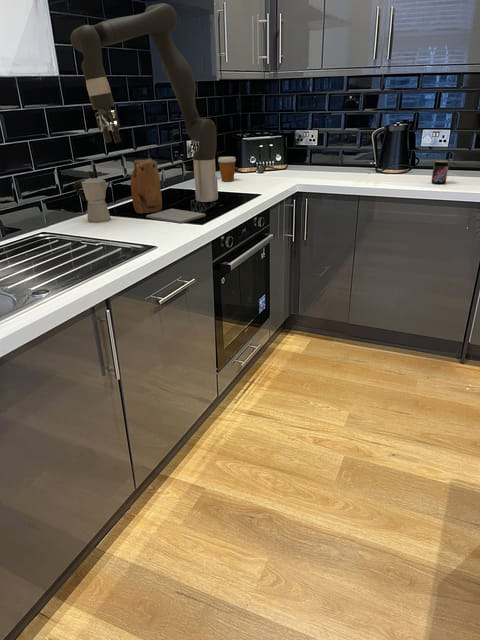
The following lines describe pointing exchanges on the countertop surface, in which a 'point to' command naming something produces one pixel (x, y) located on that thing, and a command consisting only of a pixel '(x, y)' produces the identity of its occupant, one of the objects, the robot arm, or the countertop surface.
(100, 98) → the robot arm
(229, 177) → the disposable coffee cup
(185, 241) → the countertop surface
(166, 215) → the mat
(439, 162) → the supplement container
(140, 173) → the block
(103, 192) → the coffee maker
